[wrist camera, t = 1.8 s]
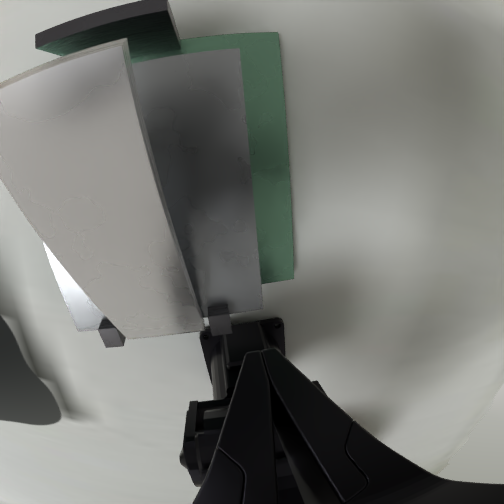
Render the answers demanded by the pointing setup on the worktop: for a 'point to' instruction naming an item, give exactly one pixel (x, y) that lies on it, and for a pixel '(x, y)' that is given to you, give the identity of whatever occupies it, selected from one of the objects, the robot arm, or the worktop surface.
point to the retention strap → (97, 188)
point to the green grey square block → (202, 154)
